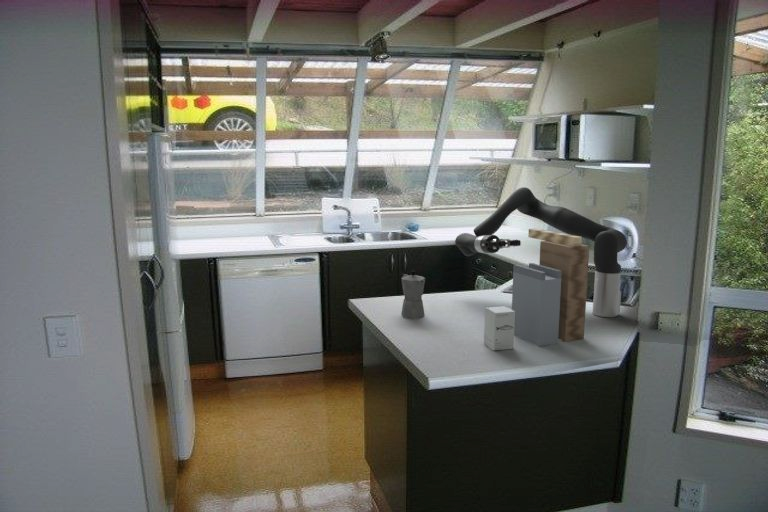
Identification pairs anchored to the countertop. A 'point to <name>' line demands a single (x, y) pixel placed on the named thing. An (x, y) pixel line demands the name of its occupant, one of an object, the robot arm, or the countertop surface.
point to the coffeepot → (412, 295)
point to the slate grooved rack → (536, 303)
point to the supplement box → (499, 328)
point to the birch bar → (555, 237)
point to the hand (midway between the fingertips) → (510, 243)
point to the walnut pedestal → (569, 285)
